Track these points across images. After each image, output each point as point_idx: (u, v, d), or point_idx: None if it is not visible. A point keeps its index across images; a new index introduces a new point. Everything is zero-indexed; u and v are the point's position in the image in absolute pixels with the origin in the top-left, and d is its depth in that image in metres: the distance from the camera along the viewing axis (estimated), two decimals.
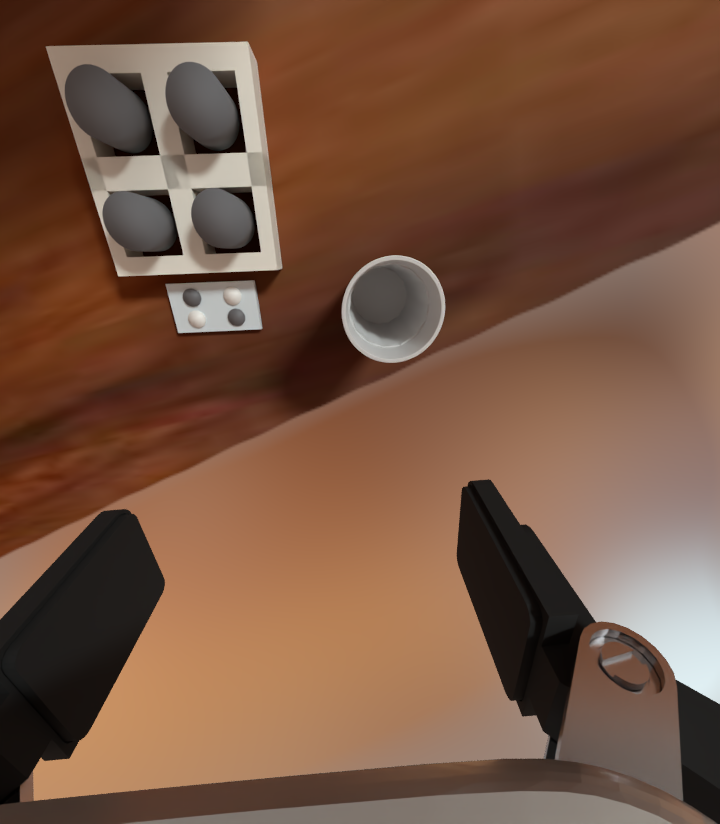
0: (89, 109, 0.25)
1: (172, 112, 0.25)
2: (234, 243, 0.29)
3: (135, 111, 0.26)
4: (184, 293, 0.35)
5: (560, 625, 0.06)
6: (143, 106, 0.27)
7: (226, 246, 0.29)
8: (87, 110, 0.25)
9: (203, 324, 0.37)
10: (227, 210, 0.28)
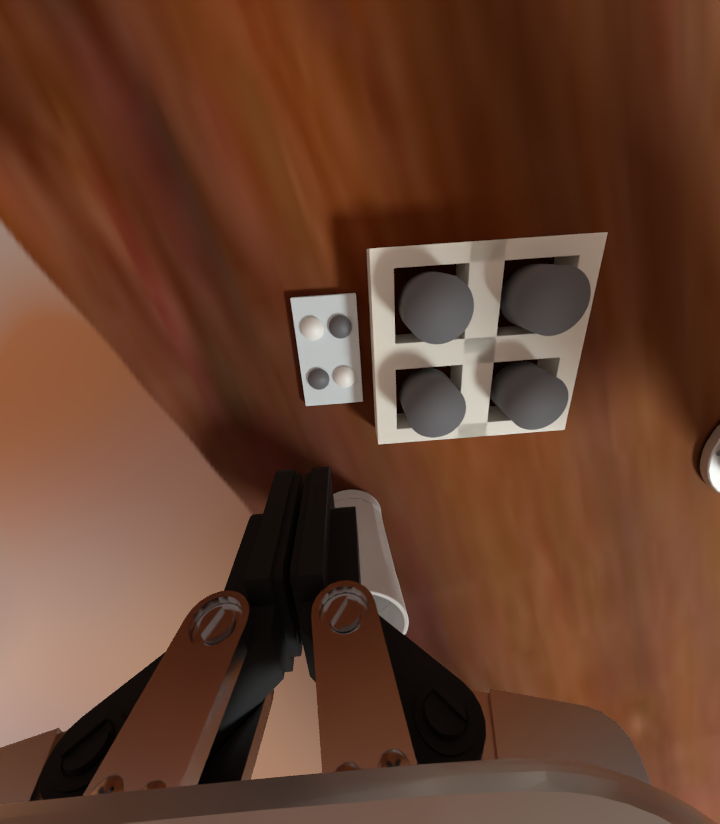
0: (553, 291, 0.22)
1: (534, 379, 0.24)
2: (411, 425, 0.25)
3: None
4: (345, 317, 0.26)
5: (311, 583, 0.07)
6: None
7: (408, 416, 0.25)
8: (553, 288, 0.22)
9: (305, 336, 0.27)
10: (443, 421, 0.25)
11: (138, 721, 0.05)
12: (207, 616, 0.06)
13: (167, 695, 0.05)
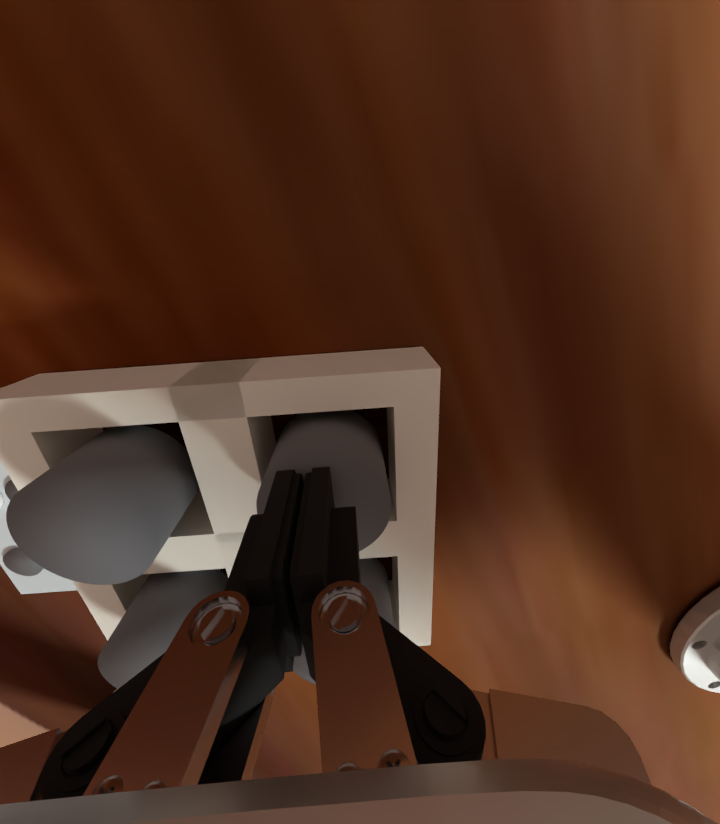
0: None
1: None
2: (118, 687, 0.14)
3: None
4: None
5: (311, 583, 0.07)
6: None
7: (106, 678, 0.14)
8: None
9: None
10: None
11: (138, 721, 0.05)
12: (207, 616, 0.06)
13: (167, 695, 0.05)
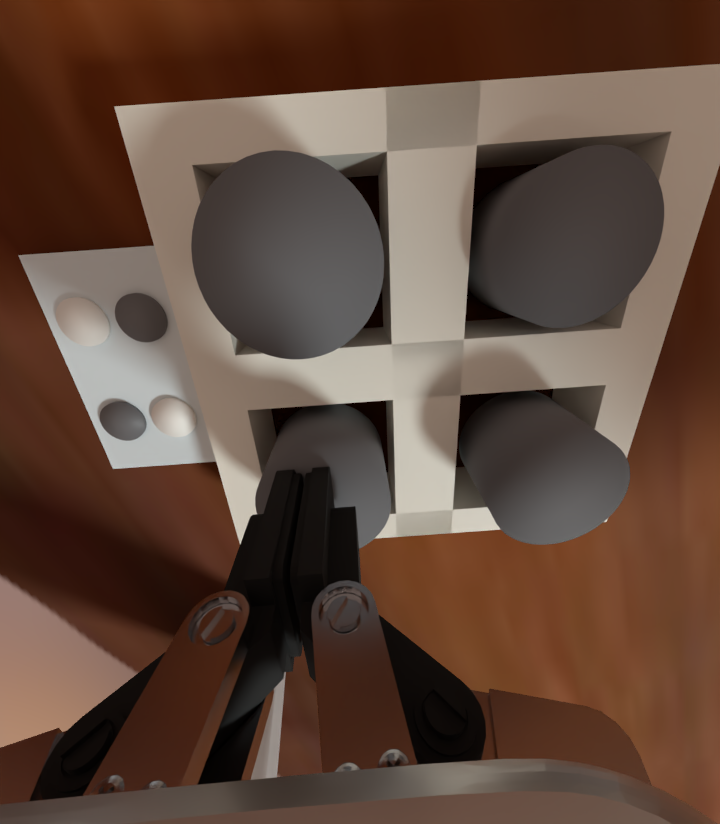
0: (573, 216, 0.09)
1: (551, 443, 0.10)
2: None
3: None
4: (147, 299, 0.13)
5: (311, 583, 0.07)
6: None
7: None
8: (572, 210, 0.09)
9: (73, 337, 0.13)
10: None
11: (138, 721, 0.05)
12: (207, 616, 0.06)
13: (167, 696, 0.05)
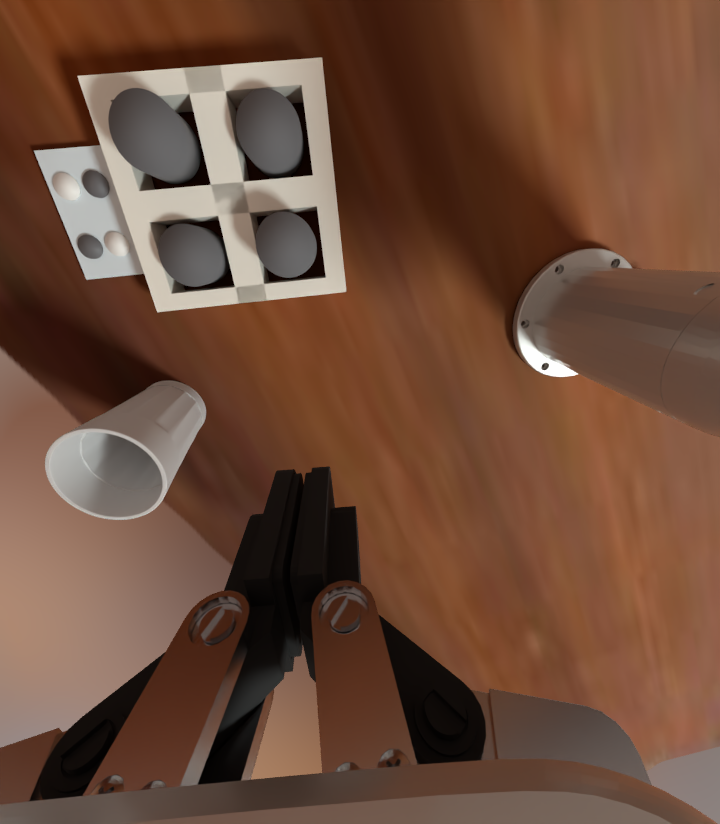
0: (262, 117, 0.23)
1: (272, 216, 0.24)
2: (168, 272, 0.26)
3: (274, 171, 0.25)
4: (98, 173, 0.26)
5: (311, 583, 0.07)
6: (288, 174, 0.27)
7: (162, 262, 0.26)
8: (261, 114, 0.23)
9: (62, 195, 0.26)
10: (199, 267, 0.26)
11: (138, 721, 0.05)
12: (207, 616, 0.06)
13: (167, 695, 0.05)
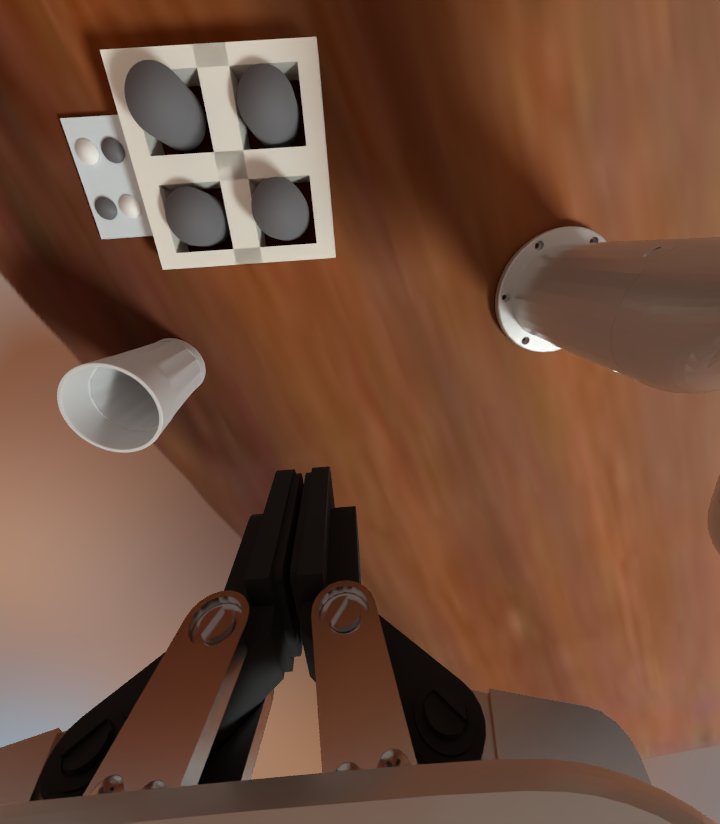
0: (260, 90, 0.26)
1: (267, 181, 0.27)
2: (173, 231, 0.29)
3: (271, 141, 0.28)
4: (115, 140, 0.29)
5: (311, 583, 0.07)
6: (285, 145, 0.29)
7: (168, 222, 0.29)
8: (259, 87, 0.25)
9: (83, 160, 0.29)
10: (201, 227, 0.29)
11: (138, 721, 0.05)
12: (207, 616, 0.06)
13: (167, 695, 0.05)
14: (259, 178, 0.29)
